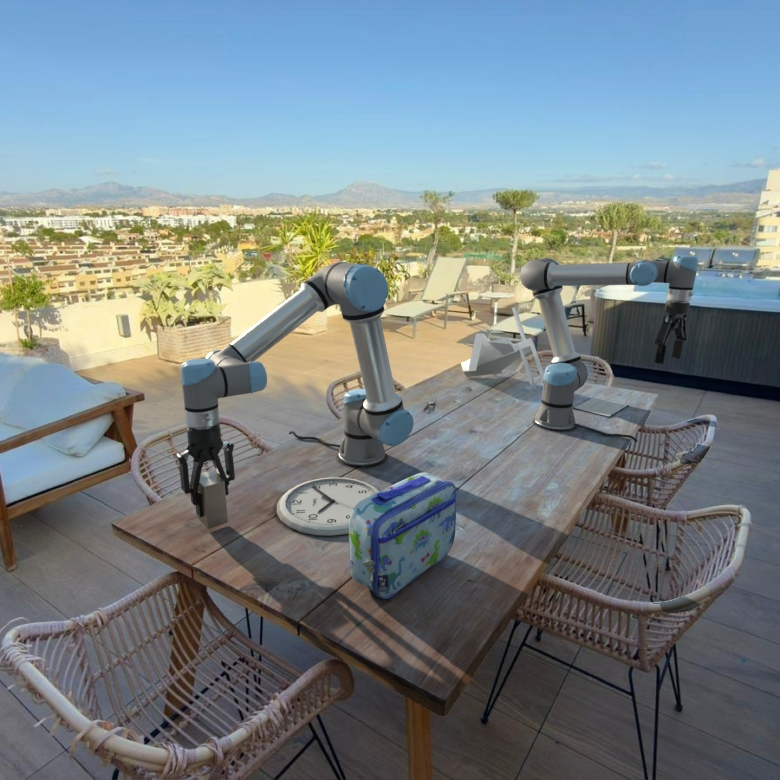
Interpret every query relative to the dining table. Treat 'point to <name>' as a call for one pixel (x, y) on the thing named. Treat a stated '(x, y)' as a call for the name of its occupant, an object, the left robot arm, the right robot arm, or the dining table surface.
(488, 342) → the white plastic object
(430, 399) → the fork
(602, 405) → the invitation card
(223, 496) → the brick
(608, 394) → the dining table surface
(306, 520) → the wall clock
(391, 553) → the lunch box
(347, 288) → the left robot arm
